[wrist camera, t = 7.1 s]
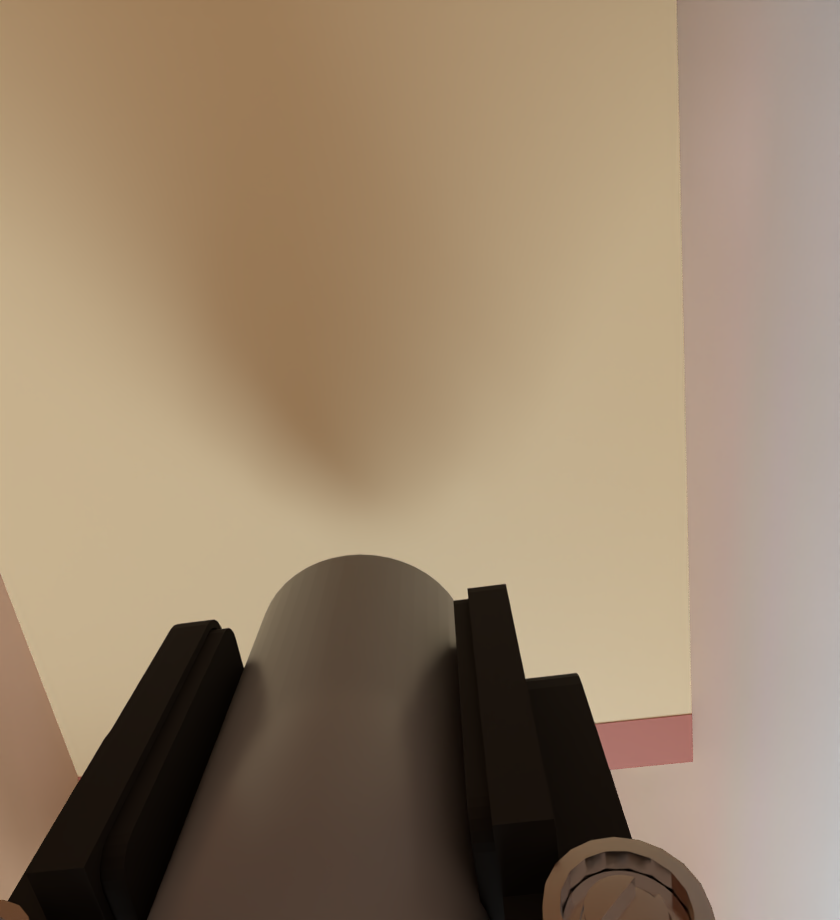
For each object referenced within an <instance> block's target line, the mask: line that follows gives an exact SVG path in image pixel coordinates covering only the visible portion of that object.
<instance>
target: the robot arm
mask: <svg viewBox="0 0 840 920" xmlns="http://www.w3.org/2000/svg"><path fill="white" fill-rule="evenodd" d="M467 590H468V599H463V600H454V601H453V604H454V619H455V634H456V648H457V663H458V678H459V693H460V708H461V723H462V737H463V752H464V767H465V782H466V797H467V809H468V820H469V829H470V837H471V845H472V852H473V858H474V864H475V871H476V877H477V883H478V890H479V896H480V902H481V904H482V905H483V907H484V908H485V910H486V911H487V914H488V916H489V918H490V920H715V917H714V914H713V910H712V907H711V905H710V903H709V900H708V898H707V896H706V894H705V892H704V889H703V887H702V885H701V883H700V882H699V881H698V880H697V879H696V877H695V876H694V875H693V874H692V873H691V872H690V870H689V869H688V868H687V867H686V866H685V865H684V864H683V863H682V862H680V861H679V860H678V859H676V858H675V857H673V856H672V855H670V854H669V853H667V852H666V851H665V850H663V849H661V848H659V847H656V846H653V845H651V844H648V843H645V842H643V841H640V840H635V839H632V838H631V834H630V831H629V828H628V825H627V822H626V819H625V816H624V813H623V810H622V806H621V803H620V800H619V797H618V794H617V791H616V788H615V785H614V782H613V778H612V775H611V772H610V769H609V766H608V763H607V760H606V757H605V754H604V750H603V747H602V744H601V741H600V738H599V735H598V732H597V729H596V726H595V722H594V719H593V716H592V713H591V710H590V707H589V704H588V701H587V698H586V694H585V691H584V688H583V685H582V682H581V680H580V677H579V675H578V674H577V673H571V674H562V675H553V676H545V677H536V678H527V679H525V674H524V669H523V664H522V660H521V655H520V650H519V645H518V640H517V635H516V631H515V626H514V621H513V616H512V611H511V606H510V601H509V597H508V592H507V587H506V584H500V585H491V586H483V587H475V588H467ZM243 670H244V667H243V663H242V659H241V656H240V652H239V648H238V645H237V641H236V637H235V635H234V632H233V631H232V629H230V628H224V629H222V628H221V626H220V624H219V623H218V621H216V620H206V621H197V622H189V623H181V624H176V625H174V626H173V627H172V628H171V629H170V631H169V633H168V634H167V636H166V638H165V640H164V641H163V643H162V645H161V646H160V648H159V650H158V651H157V653H156V655H155V656H154V658H153V660H152V661H151V663H150V665H149V667H148V668H147V670H146V672H145V673H144V675H143V677H142V678H141V680H140V682H139V683H138V685H137V687H136V689H135V690H134V692H133V694H132V695H131V697H130V699H129V700H128V702H127V704H126V705H125V707H124V709H123V710H122V712H121V714H120V716H119V717H118V719H117V721H116V722H115V724H114V726H113V727H112V729H111V731H110V732H109V733H108V734H107V736H106V737H105V738H104V740H103V742H102V743H101V745H100V747H99V748H98V750H97V752H96V753H95V755H94V757H93V758H92V760H91V762H90V764H89V765H88V767H87V769H86V770H85V772H84V774H83V775H82V777H81V779H80V780H79V782H78V784H77V785H76V787H75V789H74V790H73V792H72V794H71V795H70V797H69V799H68V801H67V802H66V804H65V806H64V807H63V809H62V811H61V812H60V814H59V816H58V817H57V819H56V821H55V822H54V824H53V826H52V827H51V829H50V831H49V832H48V834H47V836H46V838H45V839H44V841H43V843H42V844H41V846H40V848H39V849H38V851H37V853H36V854H35V856H34V858H33V859H32V861H31V863H30V864H29V866H28V868H27V869H26V871H25V873H24V875H23V876H22V878H21V880H20V881H19V883H18V885H17V886H16V888H15V890H14V891H13V893H12V895H11V896H10V898H9V900H8V901H5V900H0V920H147V918H148V915H149V913H150V910H151V908H152V905H153V902H154V900H155V897H156V895H157V892H158V890H159V887H160V884H161V882H162V879H163V877H164V874H165V871H166V869H167V866H168V864H169V861H170V859H171V856H172V853H173V851H174V848H175V846H176V843H177V840H178V838H179V835H180V833H181V830H182V828H183V825H184V822H185V820H186V817H187V815H188V812H189V809H190V807H191V804H192V802H193V799H194V797H195V794H196V791H197V789H198V786H199V784H200V781H201V778H202V776H203V773H204V771H205V768H206V766H207V763H208V760H209V758H210V755H211V753H212V750H213V747H214V745H215V742H216V740H217V737H218V735H219V732H220V729H221V727H222V724H223V722H224V719H225V716H226V714H227V711H228V709H229V706H230V704H231V701H232V698H233V696H234V693H235V691H236V688H237V685H238V683H239V680H240V678H241V675H242V673H243Z"/></svg>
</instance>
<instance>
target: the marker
mask: <svg viewBox="0 0 840 920" xmlns="http://www.w3.org/2000/svg"><path fill="white" fill-rule="evenodd" d="M453 601H454V600H453V598H452V597H451V596H450V594H449V593H448V592H447V591H446V590H445V589H444V588H443V587H442V586H441V585H440V584H439V583H438V582H437V581H436V580H434V579H433V578H432V577H431V576H429V575H428V574H426V573H425V572H423V571H421V570H420V569H418V568H416V567H414V566H412V565H409V564H407V563H405V562H402V561H399V560H395V559H392V558H389V557H383V556H377V555H362V554H359V555H345V556H340V557H335V558H330V559H327V560H324V561H321V562H318V563H316V564H314V565H312V566H310V567H307V568H306V569H304V570H302V571H301V572H299V573H298V574H296V575H295V576H294V577H292V578H291V579H290V580H289V581H288V582H286V583H285V584H284V585H283V587H282V588H281V589H280V590H279V591H278V592H277V593H276V595H275V596H274V598H273V599H272V601H271V603H270V605H269V607H268V609H267V611H266V613H265V616H264V618H263V621H262V623H261V626H260V629H259V631H258V634H257V636H256V639H255V642H254V644H253V647H252V649H251V652H250V654H249V657H248V660H247V662H246V665H245V667H244V670H243V673H242V675H241V678H240V680H239V683H238V685H237V688H236V691H235V693H234V696H233V698H232V701H231V704H230V706H229V709H228V711H227V714H226V716H225V719H224V722H223V724H222V727H221V729H220V732H219V735H218V737H217V740H216V742H215V745H214V747H213V750H212V753H211V755H210V758H209V760H208V763H207V766H206V768H205V771H204V773H203V776H202V778H201V781H200V784H199V786H198V789H197V791H196V794H195V797H194V799H193V802H192V804H191V807H190V809H189V812H188V815H187V817H186V820H185V822H184V825H183V828H182V830H181V833H180V835H179V838H178V840H177V843H176V846H175V848H174V851H173V853H172V856H171V859H170V861H169V864H168V866H167V869H166V871H165V874H164V877H163V879H162V882H161V884H160V887H159V890H158V892H157V895H156V897H155V900H154V902H153V905H152V908H151V910H150V913H149V915H148V918H147V920H490V918H489V916H488V914H487V911H486V910H485V908H484V907H483V905H482V904H481V902H480V896H479V890H478V883H477V877H476V871H475V864H474V858H473V852H472V845H471V837H470V829H469V820H468V809H467V797H466V782H465V767H464V752H463V737H462V723H461V708H460V693H459V678H458V663H457V648H456V634H455V619H454V604H453Z"/></svg>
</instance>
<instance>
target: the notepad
mask: <svg viewBox="0 0 840 920" xmlns="http://www.w3.org/2000/svg"><path fill="white" fill-rule="evenodd" d="M359 554H362V555H377V556H383V557H389V558H392V559H395V560H399V561H402V562H405V563H407V564H409V565H412V566H414V567H416V568H418V569H420V570H421V571H423V572H425V573H426V574H428V575H429V576H431V577H432V578H433V579H434V580H436V581H437V582H438V583H439V584H440V585H441V586H442V587H443V588H444V589H445V590H446V591H447V592H448V593H449V594H450V596H451V597H452V598H453V600H463V599H468V590H467V588H475V587H483V586H491V585H500V584H506V587H507V592H508V597H509V601H510V606H511V611H512V616H513V621H514V626H515V631H516V635H517V640H518V645H519V650H520V655H521V660H522V664H523V669H524V674H525V679H527V678H536V677H545V676H553V675H562V674H571V673H577V674H578V675H579V677H580V680H581V682H582V685H583V688H584V691H585V694H586V698H587V701H588V704H589V707H590V710H591V713H592V716H593V719H594V722H595V726H596V729H597V732H598V735H599V738H600V741H601V744H602V747H603V750H604V754H605V757H606V760H607V763H608V766H609V769H610V770H613V769H623V768H633V767H643V766H653V765H664V764H674V763H684V762H693V738H692V706H691V659H690V611H689V564H688V517H687V470H686V423H685V376H684V328H683V281H682V234H681V187H680V140H679V92H678V45H677V0H0V574H1V576H2V579H3V581H4V584H5V587H6V589H7V592H8V594H9V597H10V600H11V602H12V605H13V608H14V610H15V613H16V615H17V618H18V621H19V623H20V626H21V629H22V631H23V634H24V636H25V639H26V642H27V644H28V647H29V649H30V652H31V655H32V657H33V660H34V663H35V665H36V668H37V670H38V673H39V676H40V678H41V681H42V684H43V686H44V689H45V691H46V694H47V697H48V699H49V702H50V704H51V707H52V710H53V712H54V715H55V718H56V720H57V723H58V725H59V728H60V731H61V733H62V736H63V738H64V741H65V744H66V746H67V749H68V752H69V754H70V757H71V759H72V762H73V765H74V767H75V770H76V773H77V775H78V780H80V779H81V777H82V775H83V774H84V772H85V770H86V769H87V767H88V765H89V764H90V762H91V760H92V758H93V757H94V755H95V753H96V752H97V750H98V748H99V747H100V745H101V743H102V742H103V740H104V738H105V737H106V736H107V734H108V733H109V732H110V731H111V729H112V727H113V726H114V724H115V722H116V721H117V719H118V717H119V716H120V714H121V712H122V710H123V709H124V707H125V705H126V704H127V702H128V700H129V699H130V697H131V695H132V694H133V692H134V690H135V689H136V687H137V685H138V683H139V682H140V680H141V678H142V677H143V675H144V673H145V672H146V670H147V668H148V667H149V665H150V663H151V661H152V660H153V658H154V656H155V655H156V653H157V651H158V650H159V648H160V646H161V645H162V643H163V641H164V640H165V638H166V636H167V634H168V633H169V631H170V629H171V628H172V627H173V626H174V625H176V624H181V623H189V622H197V621H206V620H216V621H218V623H219V624H220V626H221V628H222V629H224V628H230V629H232V631H233V632H234V635H235V637H236V641H237V645H238V648H239V652H240V656H241V659H242V663H243V667H245V665H246V662H247V660H248V657H249V654H250V652H251V649H252V647H253V644H254V642H255V639H256V636H257V634H258V631H259V629H260V626H261V623H262V621H263V618H264V616H265V613H266V611H267V609H268V607H269V605H270V603H271V601H272V599H273V598H274V596H275V595H276V593H277V592H278V591H279V590H280V589H281V588H282V587H283V585H284V584H285V583H286V582H288V581H289V580H290V579H291V578H292V577H294V576H295V575H296V574H298V573H299V572H301V571H302V570H304V569H306V568H307V567H310V566H312V565H314V564H316V563H318V562H321V561H324V560H327V559H330V558H335V557H340V556H345V555H359Z"/></svg>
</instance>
